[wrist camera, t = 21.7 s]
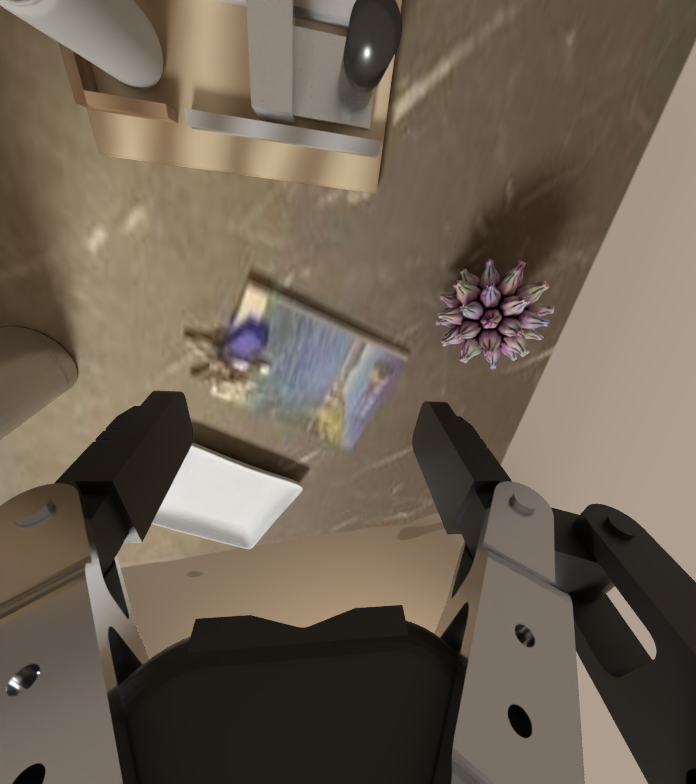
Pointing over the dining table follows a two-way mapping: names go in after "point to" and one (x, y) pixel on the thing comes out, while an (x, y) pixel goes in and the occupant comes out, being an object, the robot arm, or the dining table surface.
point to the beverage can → (100, 35)
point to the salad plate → (224, 499)
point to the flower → (494, 313)
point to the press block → (319, 63)
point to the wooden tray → (225, 102)
